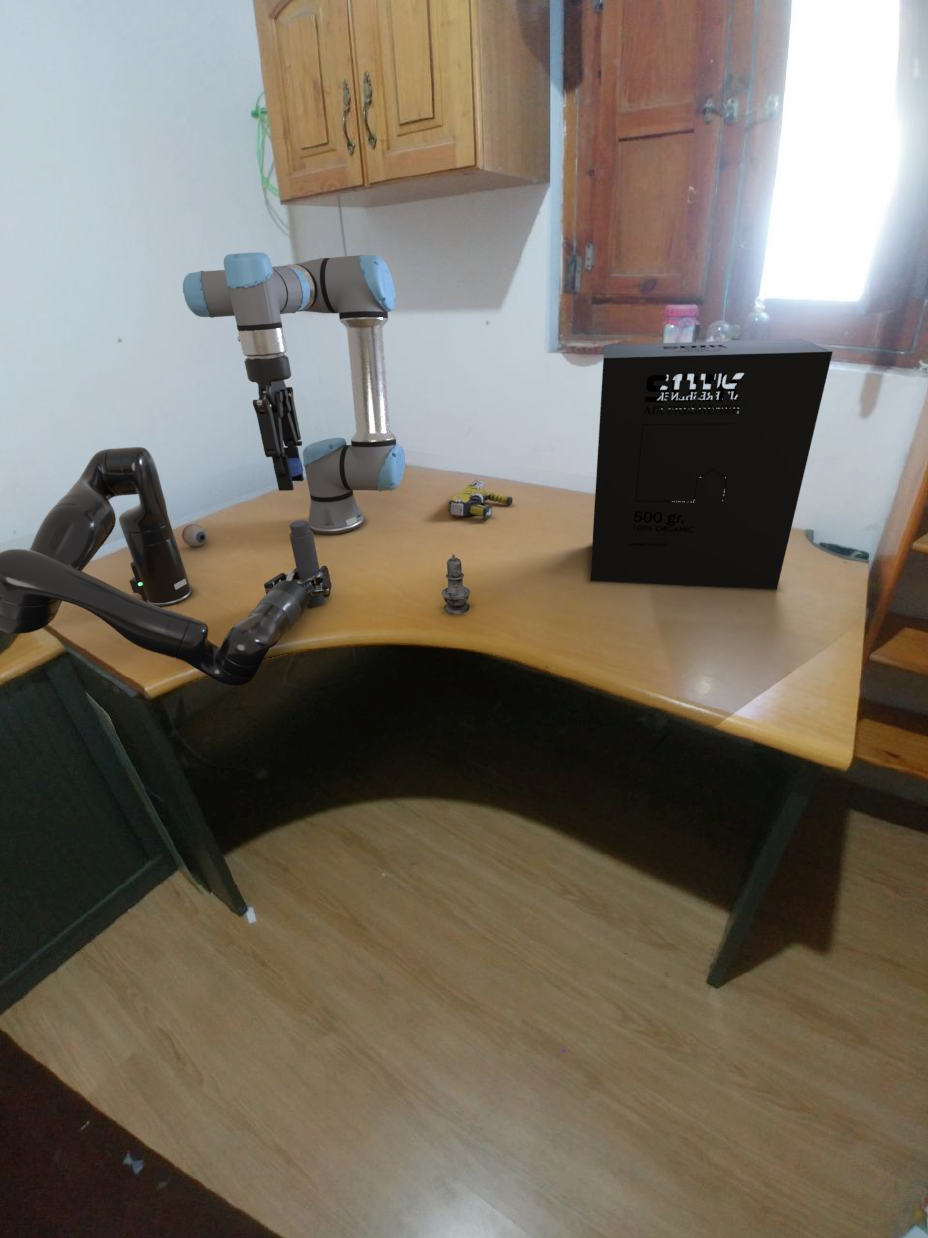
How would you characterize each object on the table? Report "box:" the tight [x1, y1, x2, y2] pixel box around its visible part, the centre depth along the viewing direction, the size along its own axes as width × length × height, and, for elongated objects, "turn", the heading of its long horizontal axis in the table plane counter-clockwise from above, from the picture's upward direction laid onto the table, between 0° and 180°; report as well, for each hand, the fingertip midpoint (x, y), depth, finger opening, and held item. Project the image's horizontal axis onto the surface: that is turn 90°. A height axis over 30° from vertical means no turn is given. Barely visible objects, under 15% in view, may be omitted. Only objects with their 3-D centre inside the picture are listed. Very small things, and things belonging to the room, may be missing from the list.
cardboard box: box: [589, 338, 834, 590], centre depth 125 cm, size 38×20×45 cm, turn 78°
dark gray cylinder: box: [288, 519, 326, 608], centre depth 126 cm, size 5×5×18 cm
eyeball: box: [181, 523, 208, 548], centre depth 159 cm, size 6×6×6 cm
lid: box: [273, 458, 304, 477], centre depth 115 cm, size 5×5×2 cm
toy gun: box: [447, 479, 514, 521], centre depth 175 cm, size 5×24×15 cm
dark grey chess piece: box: [441, 553, 471, 615], centre depth 121 cm, size 6×6×12 cm
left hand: (314, 569), depth 129 cm, fingers closed on dark gray cylinder, 4 cm apart
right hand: (291, 484), depth 117 cm, fingers closed on lid, 5 cm apart
